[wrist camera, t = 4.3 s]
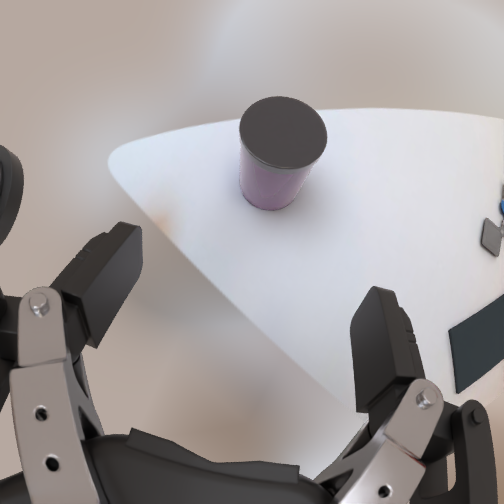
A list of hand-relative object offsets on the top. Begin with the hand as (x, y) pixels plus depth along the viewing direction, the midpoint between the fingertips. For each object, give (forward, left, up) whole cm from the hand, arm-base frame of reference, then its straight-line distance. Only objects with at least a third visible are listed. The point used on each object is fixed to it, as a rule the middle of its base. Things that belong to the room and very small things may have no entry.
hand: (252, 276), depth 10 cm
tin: (+4, +8, -12) cm, 15 cm away
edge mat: (+22, -13, -12) cm, 29 cm away
